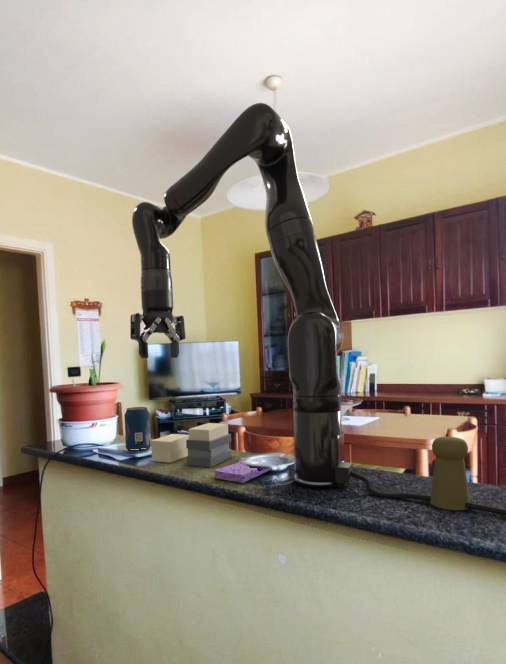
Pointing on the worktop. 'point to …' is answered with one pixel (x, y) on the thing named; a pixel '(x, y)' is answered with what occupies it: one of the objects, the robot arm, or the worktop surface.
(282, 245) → the robot arm
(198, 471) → the worktop surface
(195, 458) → the grey books
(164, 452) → the cream books
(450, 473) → the cork
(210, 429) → the pale yellow block
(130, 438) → the soda can
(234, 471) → the sponge
